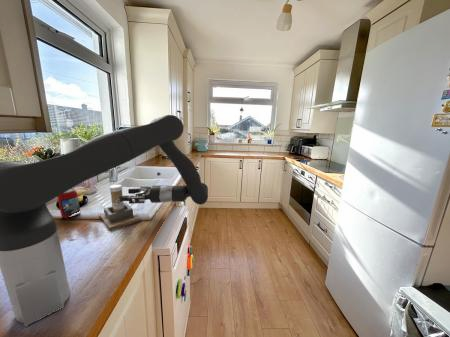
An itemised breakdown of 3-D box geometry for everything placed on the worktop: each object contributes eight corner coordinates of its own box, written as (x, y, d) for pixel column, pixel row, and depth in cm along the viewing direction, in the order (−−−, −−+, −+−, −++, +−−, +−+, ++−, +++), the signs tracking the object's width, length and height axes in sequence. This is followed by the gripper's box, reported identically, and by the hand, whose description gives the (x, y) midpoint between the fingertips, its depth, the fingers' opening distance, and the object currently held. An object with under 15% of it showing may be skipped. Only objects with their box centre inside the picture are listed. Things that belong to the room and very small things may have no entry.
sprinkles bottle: (117, 218, 80) (113, 188, 77) (111, 215, 83) (107, 186, 79) (127, 213, 84) (124, 185, 81) (121, 211, 86) (118, 183, 83)
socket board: (140, 220, 81) (140, 211, 80) (109, 231, 73) (108, 220, 72) (126, 207, 94) (126, 199, 93) (98, 215, 86) (97, 206, 85)
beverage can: (69, 220, 81) (63, 194, 78) (57, 217, 83) (52, 192, 80) (84, 213, 87) (80, 188, 85) (73, 211, 89) (69, 187, 86)
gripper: (165, 181, 89) (130, 181, 87) (157, 191, 75) (115, 192, 74) (166, 195, 91) (131, 196, 89) (159, 208, 77) (117, 209, 75)
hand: (124, 194), depth 81 cm, fingers open, 8 cm apart
